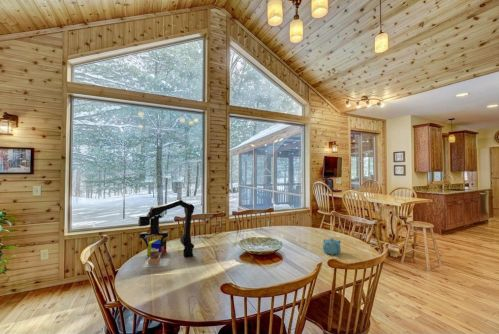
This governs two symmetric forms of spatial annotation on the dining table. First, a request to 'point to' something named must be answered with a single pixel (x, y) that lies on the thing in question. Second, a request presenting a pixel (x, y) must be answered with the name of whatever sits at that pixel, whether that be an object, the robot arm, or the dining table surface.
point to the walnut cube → (154, 253)
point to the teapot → (331, 246)
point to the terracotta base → (153, 260)
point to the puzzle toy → (157, 246)
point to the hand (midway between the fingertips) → (154, 246)
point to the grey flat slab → (162, 263)
